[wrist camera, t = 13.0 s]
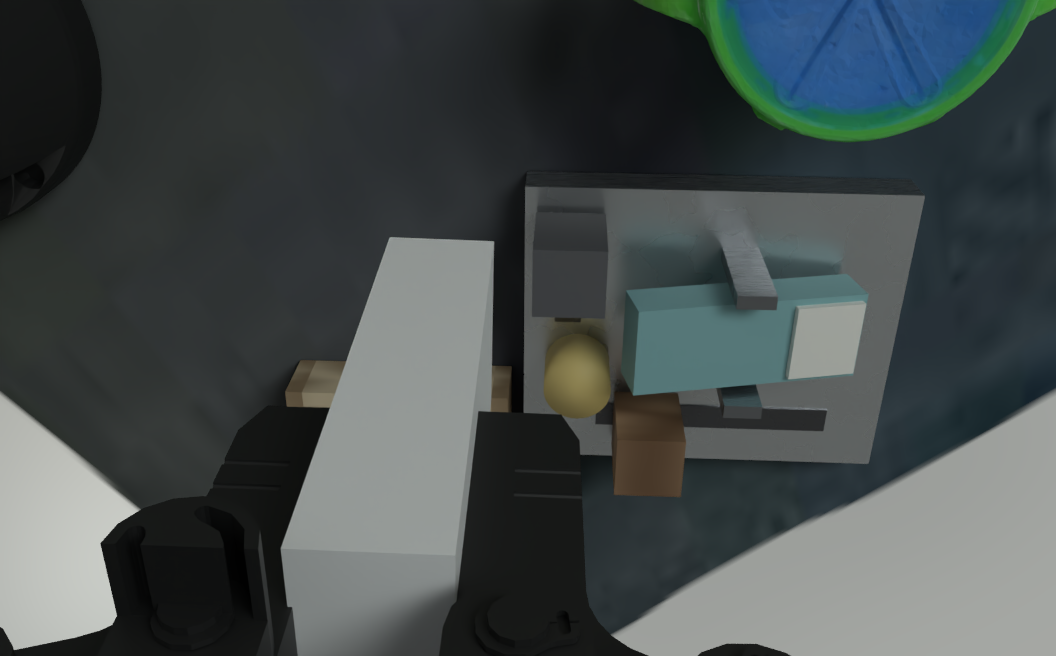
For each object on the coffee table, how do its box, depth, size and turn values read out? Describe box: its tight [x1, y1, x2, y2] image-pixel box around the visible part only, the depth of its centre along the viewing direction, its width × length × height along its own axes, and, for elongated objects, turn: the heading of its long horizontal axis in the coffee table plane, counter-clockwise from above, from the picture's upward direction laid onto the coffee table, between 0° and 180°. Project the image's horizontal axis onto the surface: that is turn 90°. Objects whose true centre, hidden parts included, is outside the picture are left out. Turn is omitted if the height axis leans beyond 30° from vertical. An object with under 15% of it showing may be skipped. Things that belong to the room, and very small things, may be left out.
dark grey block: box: [532, 212, 608, 319], centre depth 42 cm, size 3×3×4 cm
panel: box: [524, 171, 925, 464], centre depth 45 cm, size 17×14×7 cm
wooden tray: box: [285, 360, 512, 412], centre depth 52 cm, size 11×16×3 cm
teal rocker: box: [621, 274, 869, 396], centre depth 43 cm, size 10×4×2 cm, turn 89°
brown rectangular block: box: [611, 391, 686, 497], centre depth 46 cm, size 3×3×4 cm
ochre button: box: [543, 334, 611, 419], centre depth 45 cm, size 3×3×2 cm
